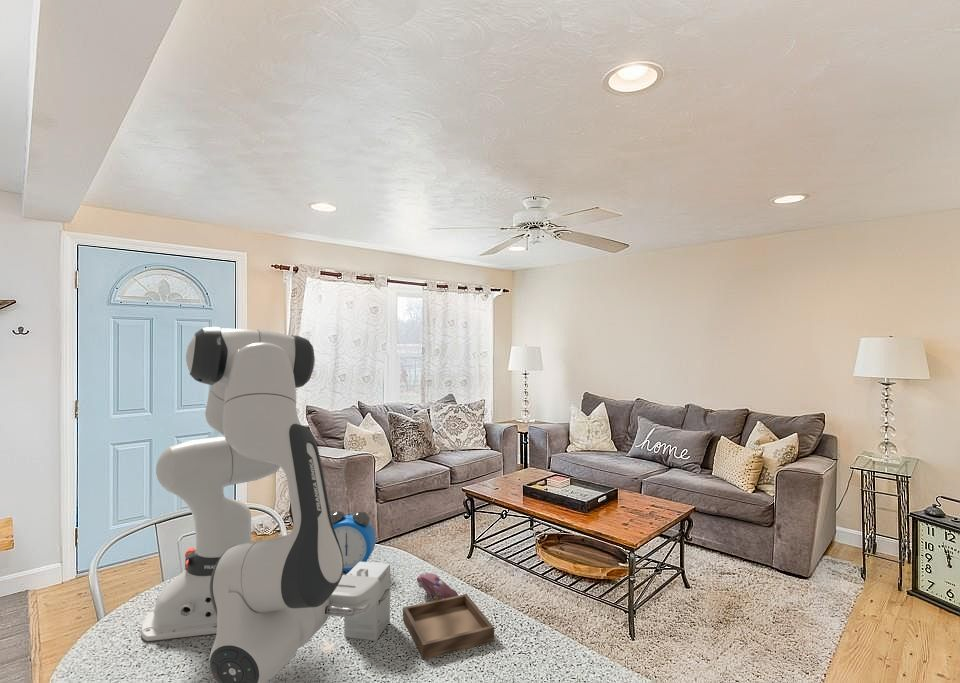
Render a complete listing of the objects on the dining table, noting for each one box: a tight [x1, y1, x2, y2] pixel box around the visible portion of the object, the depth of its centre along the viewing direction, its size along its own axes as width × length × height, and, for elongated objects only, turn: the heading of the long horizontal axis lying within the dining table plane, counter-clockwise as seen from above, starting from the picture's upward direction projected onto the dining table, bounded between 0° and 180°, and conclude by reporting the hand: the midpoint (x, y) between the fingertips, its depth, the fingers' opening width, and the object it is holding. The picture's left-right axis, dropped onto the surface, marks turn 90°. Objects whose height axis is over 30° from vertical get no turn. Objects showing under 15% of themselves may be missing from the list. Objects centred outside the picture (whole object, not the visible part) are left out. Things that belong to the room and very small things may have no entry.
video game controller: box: [416, 571, 459, 601], centre depth 119 cm, size 10×5×7 cm, turn 44°
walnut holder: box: [402, 593, 495, 661], centre depth 105 cm, size 15×15×3 cm
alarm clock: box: [331, 510, 377, 573], centre depth 135 cm, size 13×6×15 cm, turn 87°
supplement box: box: [343, 561, 391, 642], centre depth 106 cm, size 7×7×13 cm
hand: (340, 571), depth 94 cm, fingers open, 8 cm apart
